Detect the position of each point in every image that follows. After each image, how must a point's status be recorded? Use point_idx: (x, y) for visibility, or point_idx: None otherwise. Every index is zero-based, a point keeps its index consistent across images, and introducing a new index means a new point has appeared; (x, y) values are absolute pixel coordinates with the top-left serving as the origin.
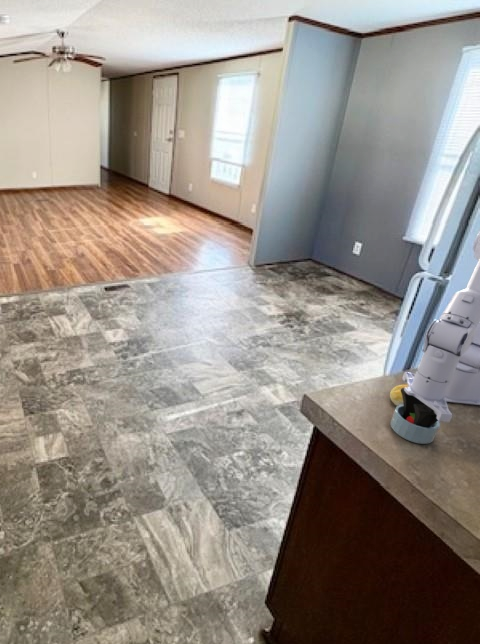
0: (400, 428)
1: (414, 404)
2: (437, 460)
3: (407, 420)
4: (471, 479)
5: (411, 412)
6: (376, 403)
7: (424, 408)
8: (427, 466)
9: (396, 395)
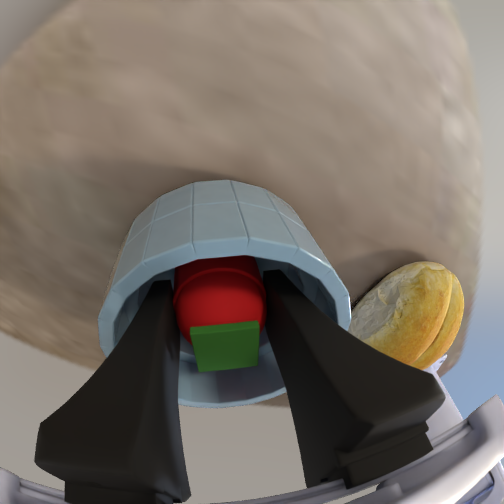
0: (154, 217)
1: (122, 471)
2: (59, 299)
3: (220, 285)
4: (32, 346)
5: (280, 331)
6: (418, 192)
7: (97, 482)
8: (7, 252)
9: (432, 290)
